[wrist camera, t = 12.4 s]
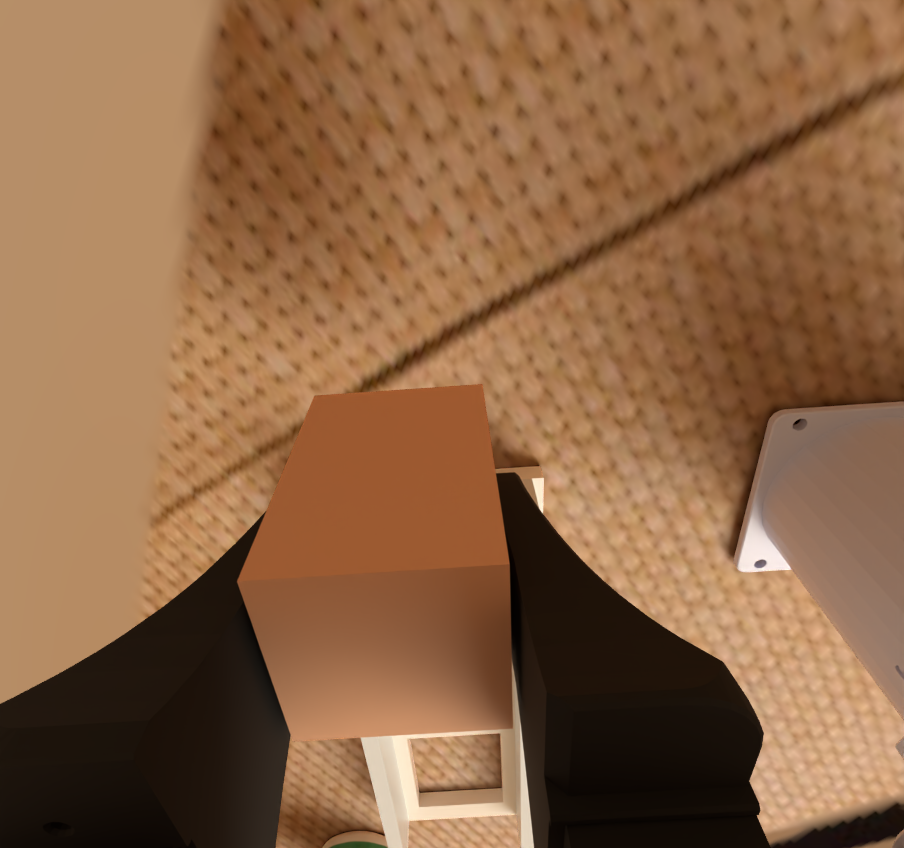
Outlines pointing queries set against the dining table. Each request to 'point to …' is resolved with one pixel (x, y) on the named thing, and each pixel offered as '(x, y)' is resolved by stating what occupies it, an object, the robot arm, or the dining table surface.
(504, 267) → the dining table surface
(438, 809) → the trap channel
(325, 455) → the terracotta block
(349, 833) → the supplement bottle
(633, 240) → the dining table surface
